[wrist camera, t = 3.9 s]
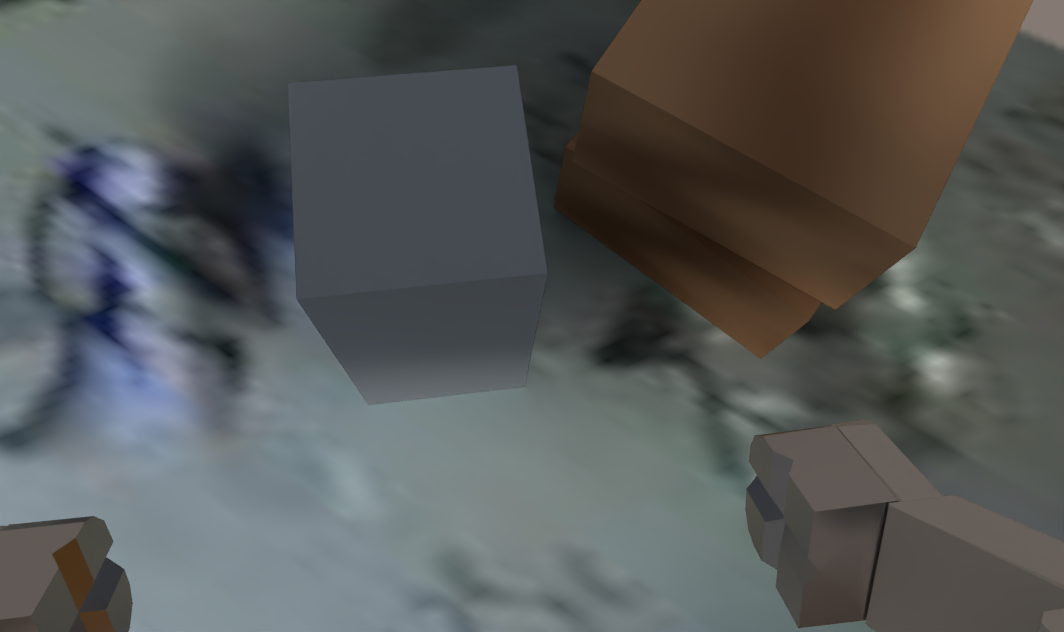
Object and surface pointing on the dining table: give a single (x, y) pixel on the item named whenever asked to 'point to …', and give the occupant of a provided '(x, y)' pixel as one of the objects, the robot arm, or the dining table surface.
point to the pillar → (418, 229)
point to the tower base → (685, 261)
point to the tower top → (796, 123)
